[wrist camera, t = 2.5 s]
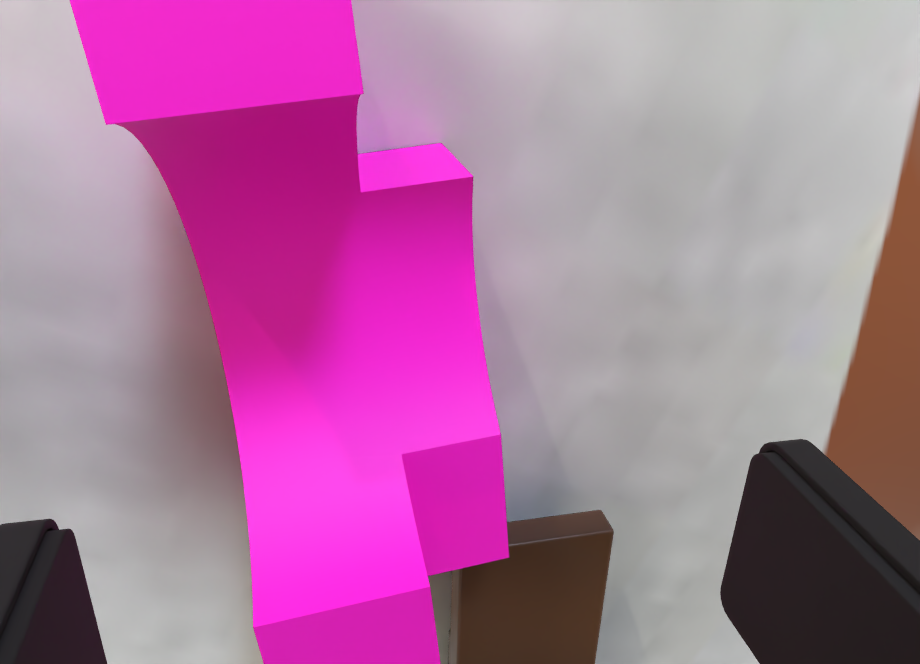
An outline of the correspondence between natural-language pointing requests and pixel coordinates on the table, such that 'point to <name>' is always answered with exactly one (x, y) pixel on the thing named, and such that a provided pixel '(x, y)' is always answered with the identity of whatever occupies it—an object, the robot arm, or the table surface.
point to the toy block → (320, 314)
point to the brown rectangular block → (534, 595)
